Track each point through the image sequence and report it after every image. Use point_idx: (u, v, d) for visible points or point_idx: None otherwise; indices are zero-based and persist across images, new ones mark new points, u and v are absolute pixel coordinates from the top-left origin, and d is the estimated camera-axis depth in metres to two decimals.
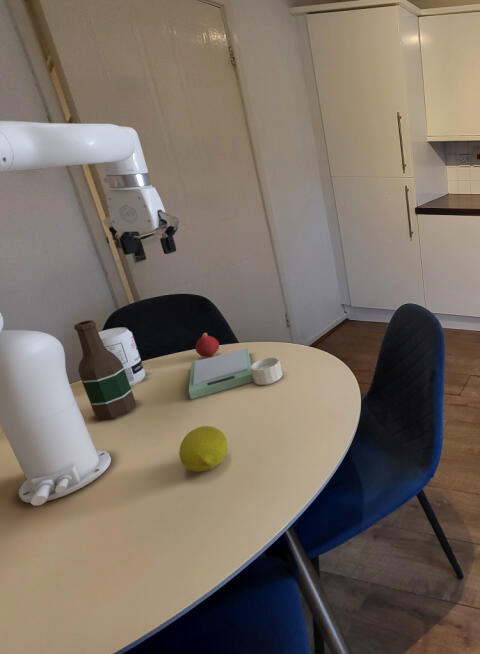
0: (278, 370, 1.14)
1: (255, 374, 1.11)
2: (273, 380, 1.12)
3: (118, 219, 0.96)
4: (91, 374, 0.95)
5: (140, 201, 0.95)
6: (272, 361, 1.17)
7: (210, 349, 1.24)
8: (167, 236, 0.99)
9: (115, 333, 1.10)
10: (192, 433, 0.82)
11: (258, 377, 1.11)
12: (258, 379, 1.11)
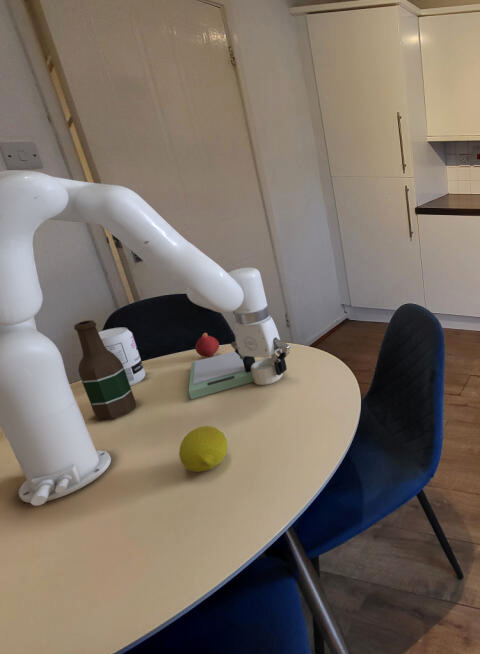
0: None
1: (255, 374, 1.11)
2: (273, 380, 1.12)
3: (242, 346, 1.09)
4: (91, 374, 0.95)
5: (260, 334, 1.07)
6: (272, 361, 1.17)
7: (210, 349, 1.24)
8: (280, 361, 1.11)
9: (115, 333, 1.10)
10: (192, 433, 0.82)
11: (258, 377, 1.11)
12: (258, 379, 1.11)
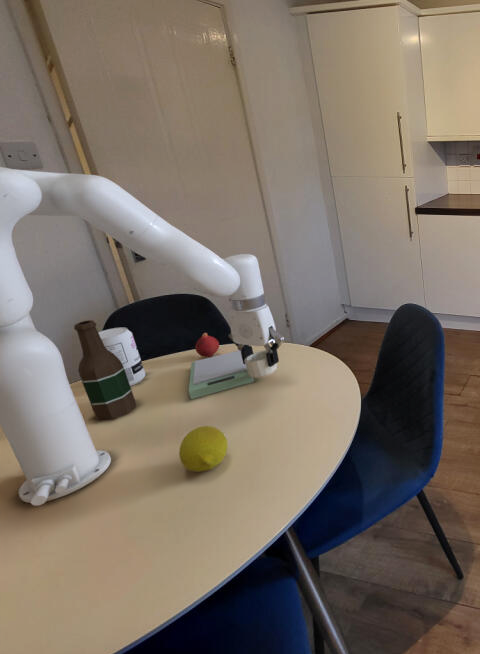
0: None
1: (248, 366, 1.09)
2: (267, 372, 1.11)
3: (237, 334, 1.08)
4: (91, 374, 0.95)
5: (255, 321, 1.06)
6: None
7: (210, 349, 1.24)
8: (272, 352, 1.10)
9: (115, 333, 1.10)
10: (192, 433, 0.82)
11: (252, 369, 1.09)
12: (252, 371, 1.09)
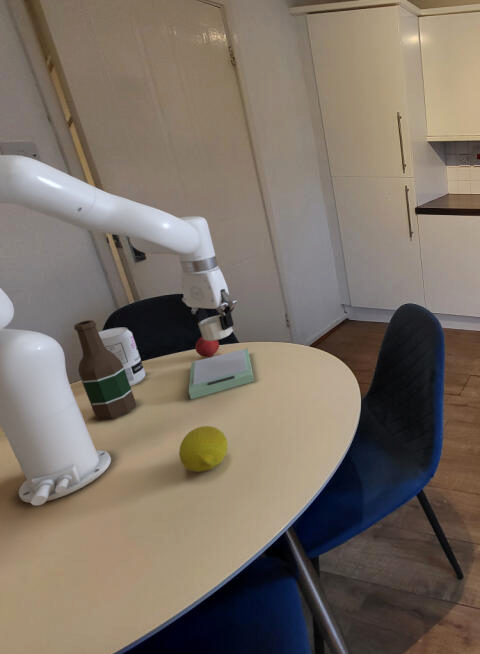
0: None
1: (202, 329, 1.09)
2: (221, 335, 1.11)
3: (189, 297, 1.08)
4: (91, 374, 0.95)
5: (206, 283, 1.06)
6: None
7: (210, 349, 1.24)
8: (225, 315, 1.10)
9: (115, 333, 1.10)
10: (192, 433, 0.82)
11: (205, 332, 1.09)
12: (205, 334, 1.10)
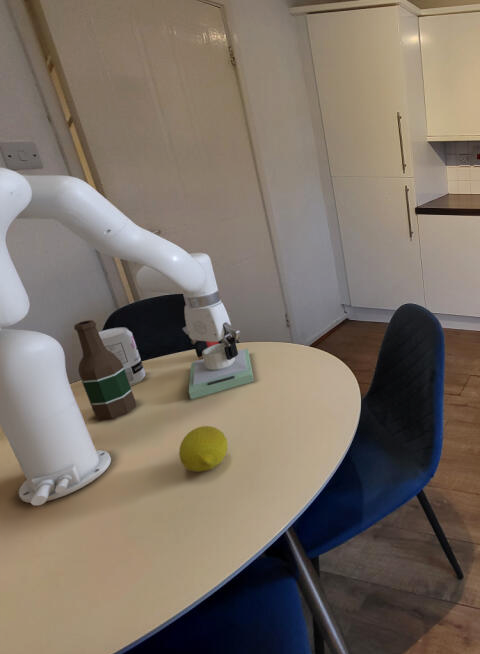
0: None
1: (206, 359, 1.13)
2: (224, 365, 1.15)
3: (192, 331, 1.11)
4: (91, 374, 0.95)
5: (209, 318, 1.09)
6: None
7: None
8: (230, 345, 1.13)
9: (115, 333, 1.10)
10: (192, 433, 0.82)
11: (208, 362, 1.13)
12: (209, 364, 1.13)
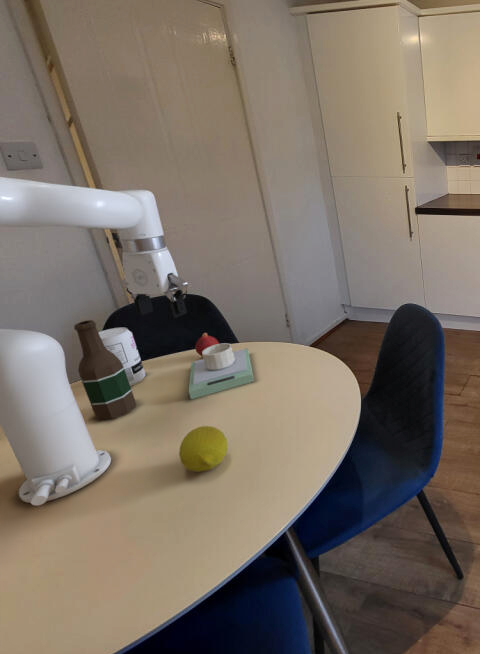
0: (229, 356, 1.16)
1: (206, 359, 1.13)
2: (224, 365, 1.15)
3: (131, 282, 0.95)
4: (91, 374, 0.95)
5: (150, 265, 0.93)
6: (225, 347, 1.19)
7: None
8: (175, 300, 0.96)
9: (115, 333, 1.10)
10: (192, 433, 0.82)
11: (208, 362, 1.13)
12: (209, 364, 1.13)
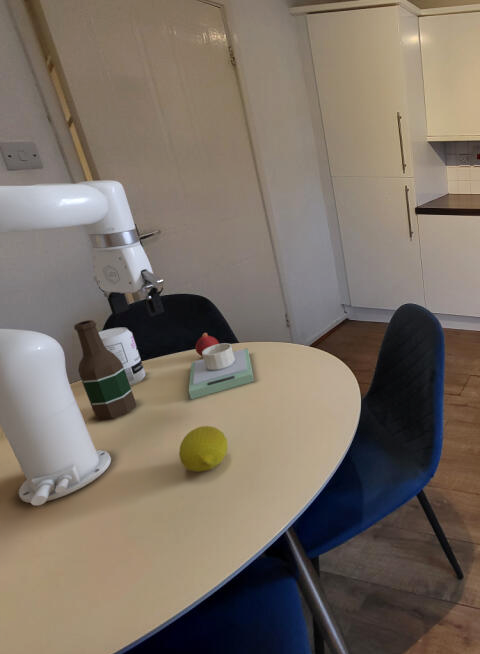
0: (229, 356, 1.16)
1: (206, 359, 1.13)
2: (224, 365, 1.15)
3: (103, 279, 0.89)
4: (91, 374, 0.95)
5: (121, 262, 0.87)
6: (225, 347, 1.19)
7: None
8: (151, 298, 0.91)
9: (115, 333, 1.10)
10: (192, 433, 0.82)
11: (208, 362, 1.13)
12: (209, 364, 1.13)
